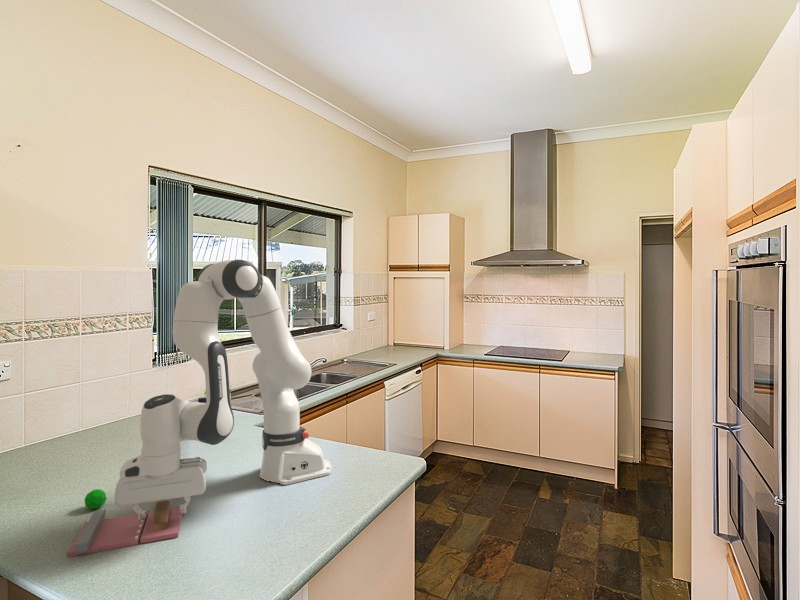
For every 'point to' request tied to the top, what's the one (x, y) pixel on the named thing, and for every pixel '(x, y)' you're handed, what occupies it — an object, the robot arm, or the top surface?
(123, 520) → the ticket
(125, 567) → the top surface
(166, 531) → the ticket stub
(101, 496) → the polyhedron
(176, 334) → the robot arm
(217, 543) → the top surface
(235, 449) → the top surface
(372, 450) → the top surface
